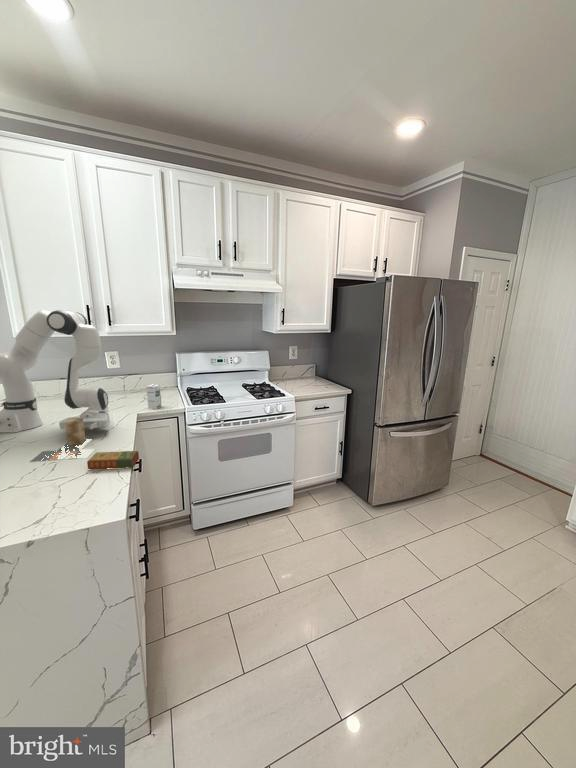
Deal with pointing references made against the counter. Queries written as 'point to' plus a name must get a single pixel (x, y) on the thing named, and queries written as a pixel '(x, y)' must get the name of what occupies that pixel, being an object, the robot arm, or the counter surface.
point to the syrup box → (153, 396)
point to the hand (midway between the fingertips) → (78, 428)
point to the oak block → (75, 431)
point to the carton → (113, 460)
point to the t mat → (56, 453)
